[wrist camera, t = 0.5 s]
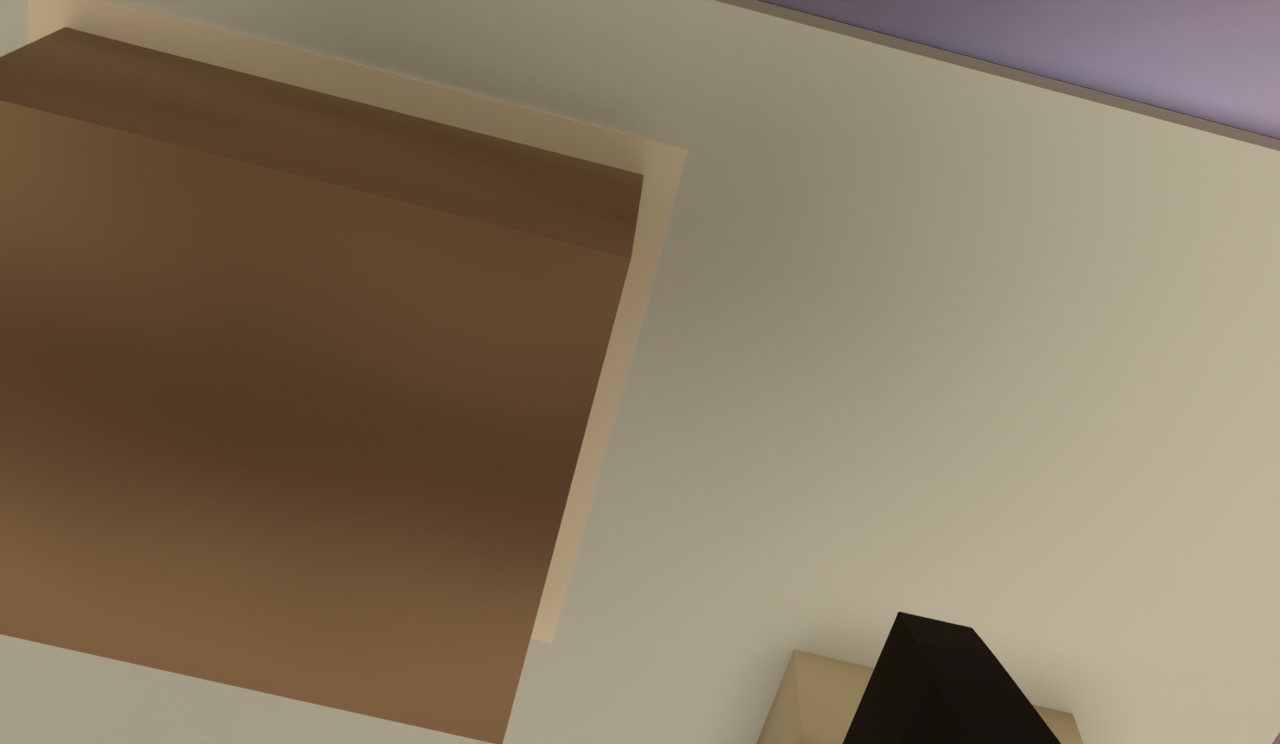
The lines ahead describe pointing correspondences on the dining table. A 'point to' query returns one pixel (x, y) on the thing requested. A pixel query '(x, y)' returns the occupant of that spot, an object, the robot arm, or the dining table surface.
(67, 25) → the plain cream board
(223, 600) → the walnut slab
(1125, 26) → the dining table surface
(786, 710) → the light wooden cube
